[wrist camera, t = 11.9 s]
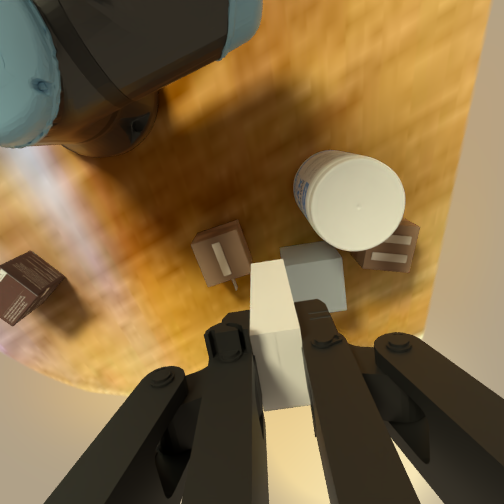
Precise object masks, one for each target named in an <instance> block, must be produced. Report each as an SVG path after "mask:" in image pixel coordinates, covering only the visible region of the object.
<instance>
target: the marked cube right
mask: <svg viewBox="0 0 504 504" xmlns="http://www.w3.org/2000/svg"><path fill="white" fill-rule="evenodd" d="M419 230H420V227H419V226H417V225H416V224H414V223H412V222H410V221H408V220H406V219H404V218H403V217H402V220H401V222H400V224H399V226H398V227H397V229H396V230H395V231H394V233H393V234H392V235H391V236H390V237H389V238H388V239H387V240H385V241H384V242H383V243H381V244H379V245H378V246H376V247H373V248H371V249H368V250H363V251H351V255H352V256H353V258H354V259H355V260H356V261H357V262H358V264H359V265H360V266H361V267H362V268H363V269H373V270H384V271H395V272H405V273H409V272H410V268H411V263H412V259H413V255H414V251H415V246H416V242H417V238H418V234H419Z"/></svg>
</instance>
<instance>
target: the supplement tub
mask: <svg viewBox="0 0 504 504" xmlns="http://www.w3.org/2000/svg"><path fill="white" fill-rule="evenodd" d="M293 192H294V197H295V201H296V203H297V205H298V207H299V208H300V210H301V211H302V213H303V214H304V216H305V217H306V218H307V220H308V221H309V223H310V224H311V226H312V227H313V229H314V230H315V232H316V233H317V234H318V235H319V236H320V237H321V238H322V239H323V240H324V241H326V242H327V243H329V244H330V245H332V246H334V247H336V248H338V249H341V250H345V251H363V250H368V249H371V248H373V247H376V246H378V245H379V244H381V243H383V242H384V241H385V240H387V239H388V238H389V237H390V236H391V235H392V234H393V233H394V231H395V230H396V229H397V227H398V226H399V224H400V222H401V220H402V217H403V214H404V210H405V192H404V188H403V185H402V183H401V181H400V179H399V177H398V176H397V174H396V173H395V172H394V171H393V170H392V169H391V168H390V167H388V166H387V165H385V164H384V163H382V162H380V161H379V160H377V159H374V158H371V157H367V156H363V155H358V154H353V153H348V152H343V151H338V150H325V151H321V152H318V153H315V154H313V155H312V156H310V157H309V158H308V159H306V160H305V161H304V162H303V164H302V165H301V166H300V168H299V169H298V171H297V173H296V176H295V179H294V184H293Z"/></svg>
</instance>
